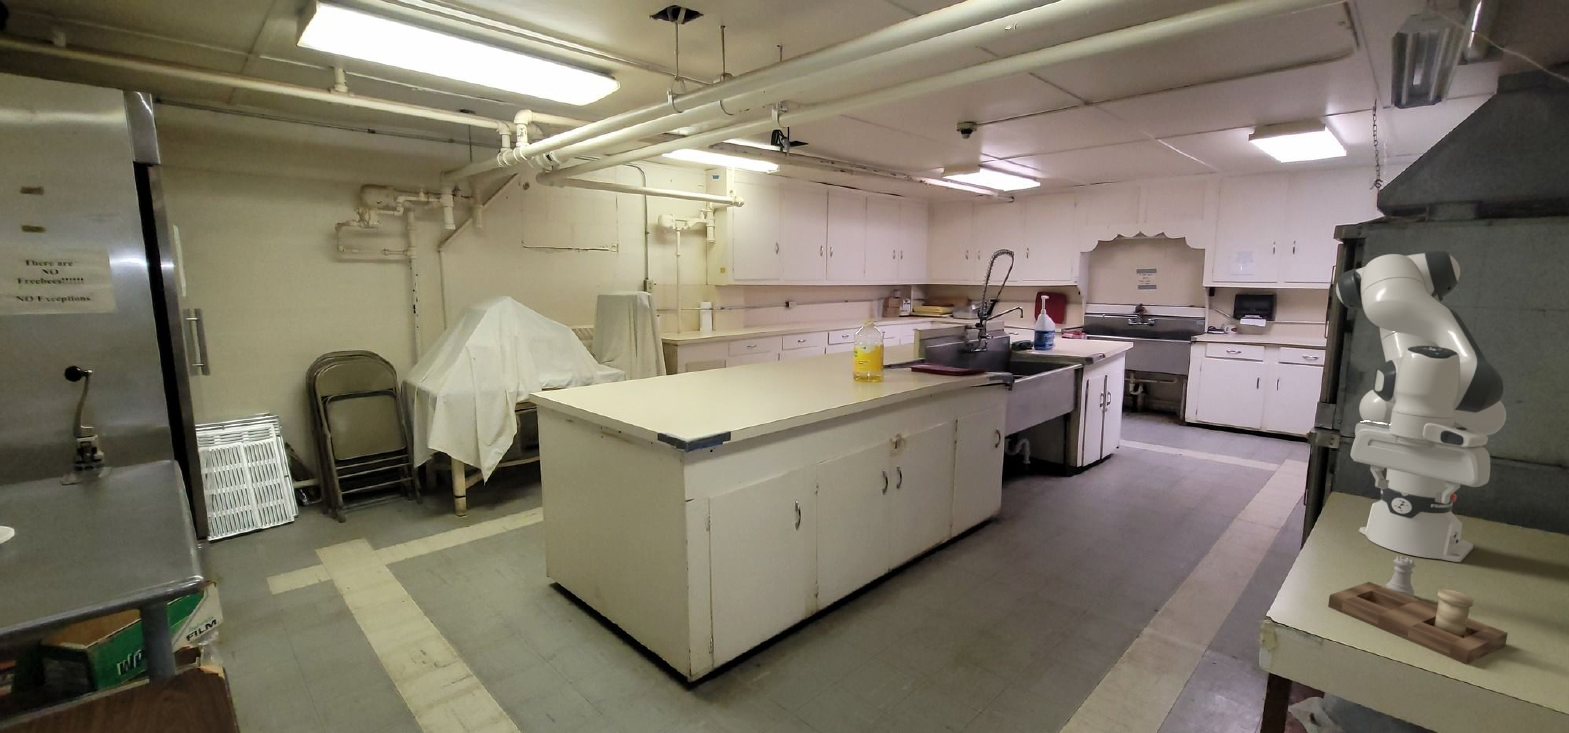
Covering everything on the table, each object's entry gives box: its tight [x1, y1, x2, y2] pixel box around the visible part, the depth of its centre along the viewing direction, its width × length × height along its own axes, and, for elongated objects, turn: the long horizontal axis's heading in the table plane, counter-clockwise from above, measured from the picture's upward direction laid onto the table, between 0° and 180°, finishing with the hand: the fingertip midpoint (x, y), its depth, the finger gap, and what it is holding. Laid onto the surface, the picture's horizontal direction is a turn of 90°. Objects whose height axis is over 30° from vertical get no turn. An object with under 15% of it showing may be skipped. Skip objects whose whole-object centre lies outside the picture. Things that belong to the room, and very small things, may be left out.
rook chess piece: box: [1385, 555, 1416, 598], centre depth 129 cm, size 4×4×8 cm
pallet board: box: [1327, 581, 1509, 665], centre depth 118 cm, size 14×20×9 cm
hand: (1410, 495), depth 127 cm, fingers open, 8 cm apart
